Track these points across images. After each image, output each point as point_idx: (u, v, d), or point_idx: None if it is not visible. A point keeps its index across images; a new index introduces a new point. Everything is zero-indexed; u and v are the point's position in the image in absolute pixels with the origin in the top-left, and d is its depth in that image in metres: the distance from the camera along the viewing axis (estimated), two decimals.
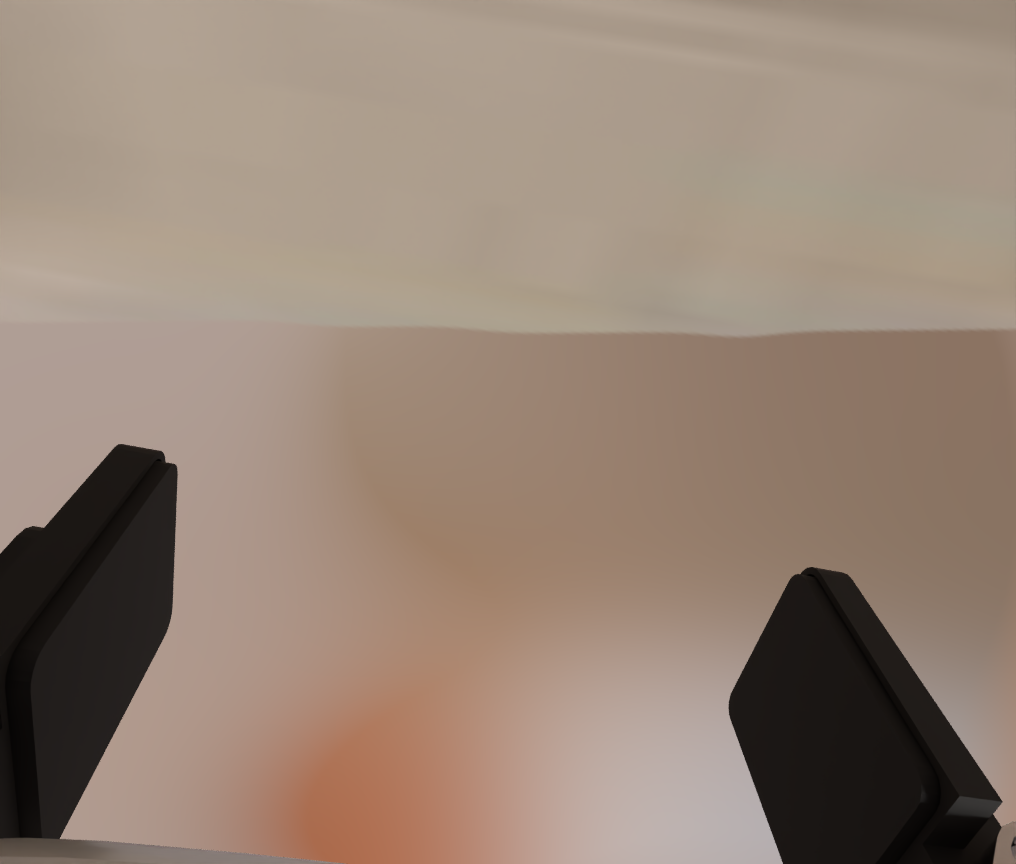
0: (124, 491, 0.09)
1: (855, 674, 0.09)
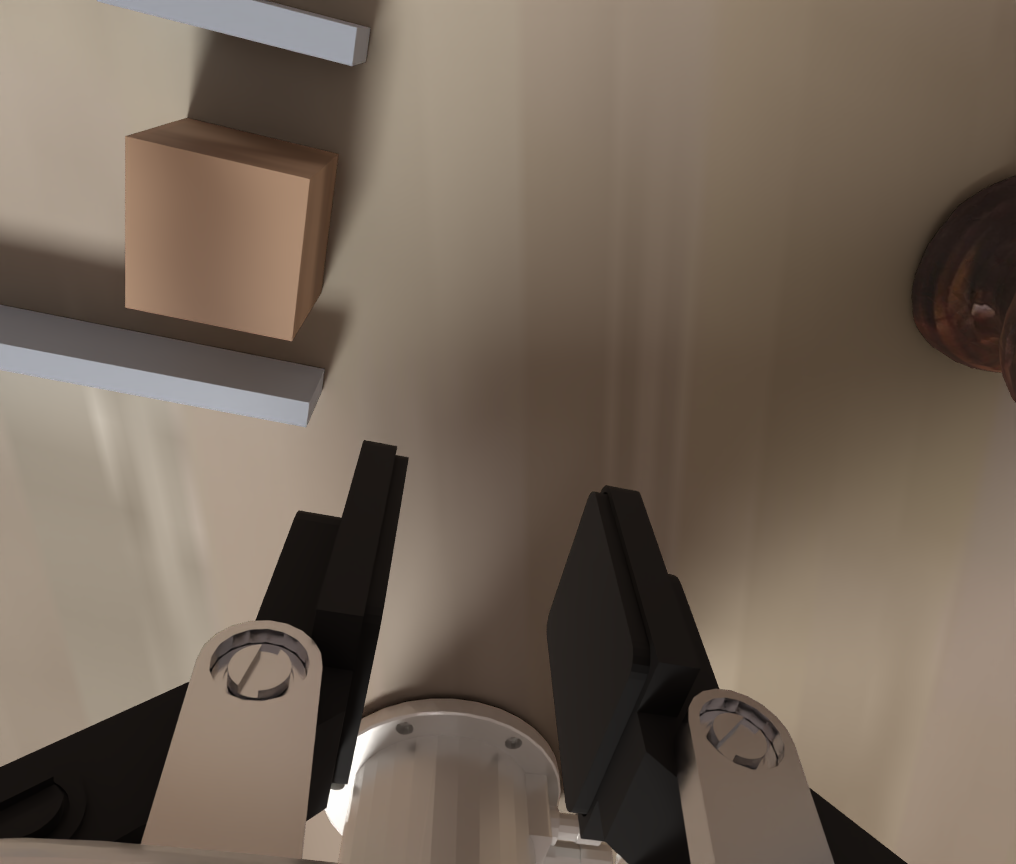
0: (386, 480, 0.10)
1: (611, 571, 0.10)
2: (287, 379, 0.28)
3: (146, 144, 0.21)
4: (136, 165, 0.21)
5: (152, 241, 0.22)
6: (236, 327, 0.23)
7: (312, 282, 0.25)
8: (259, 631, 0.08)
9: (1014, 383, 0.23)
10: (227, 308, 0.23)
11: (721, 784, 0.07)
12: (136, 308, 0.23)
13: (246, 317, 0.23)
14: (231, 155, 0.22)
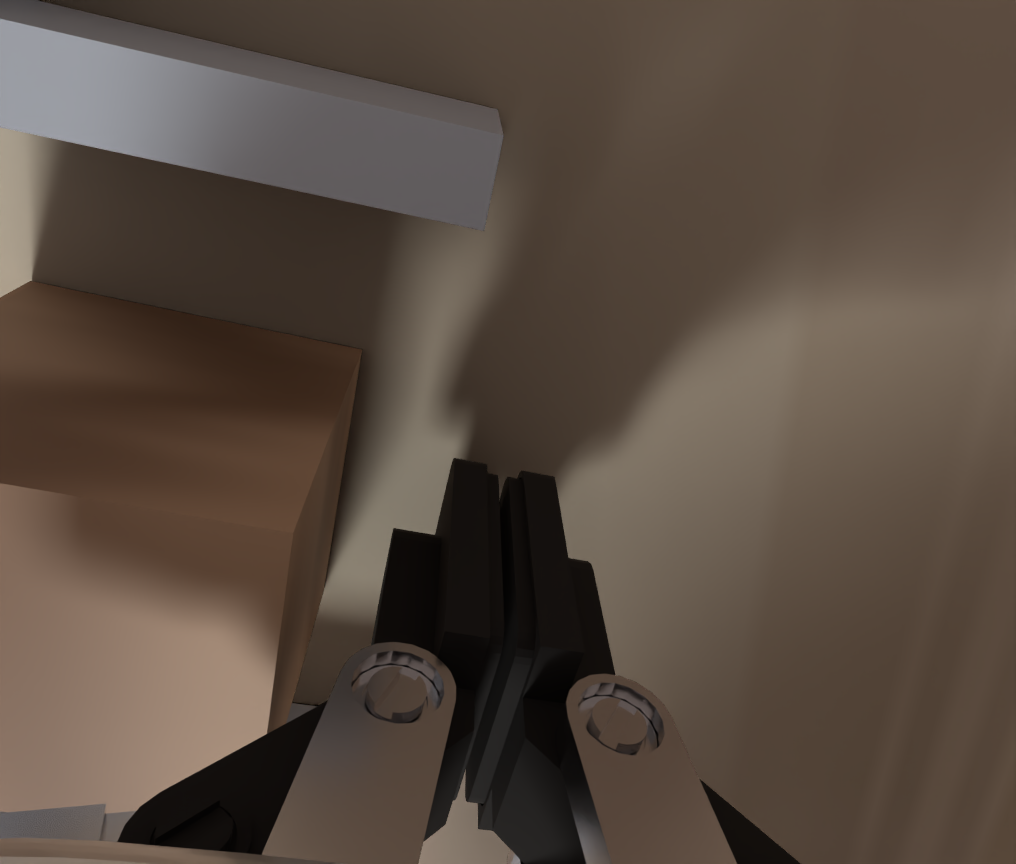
0: (483, 499, 0.11)
1: (512, 555, 0.10)
2: None
3: None
4: None
5: None
6: None
7: (304, 634, 0.12)
8: (389, 653, 0.08)
9: None
10: (90, 789, 0.09)
11: (609, 780, 0.07)
12: None
13: (140, 803, 0.09)
14: (79, 454, 0.08)
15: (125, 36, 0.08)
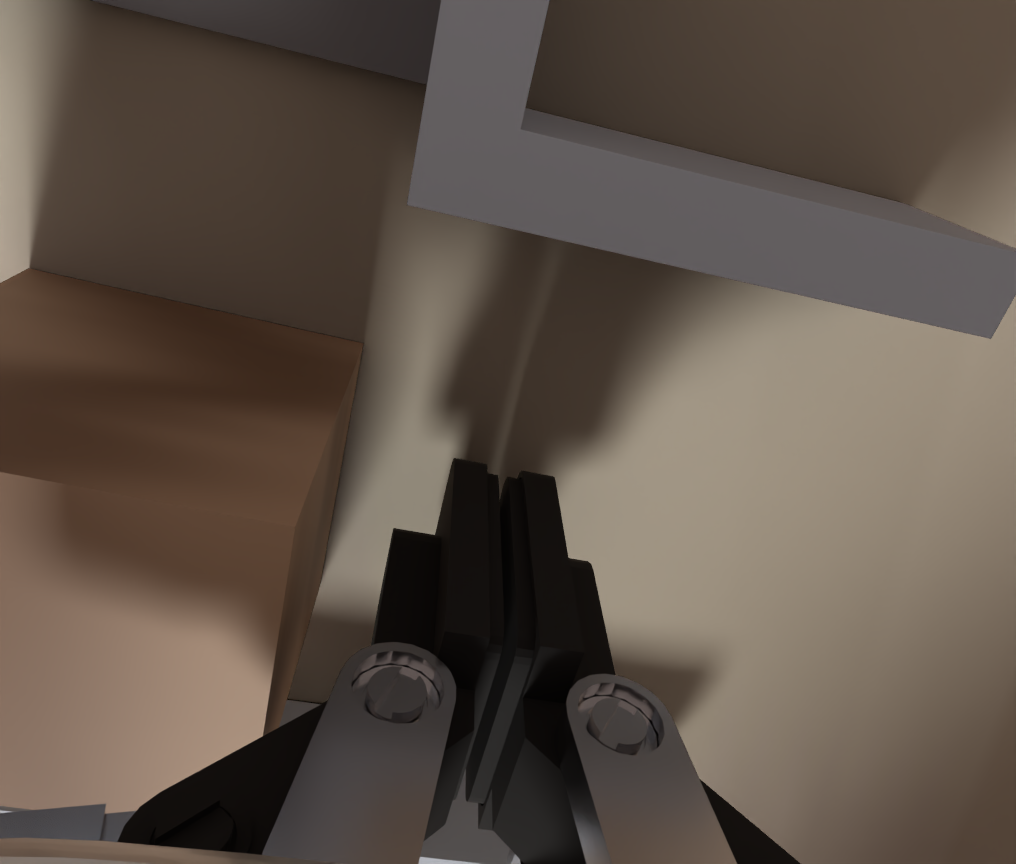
0: (483, 499, 0.11)
1: (512, 555, 0.10)
2: None
3: None
4: None
5: None
6: None
7: (300, 629, 0.12)
8: (390, 653, 0.08)
9: None
10: (83, 783, 0.09)
11: (609, 779, 0.07)
12: None
13: (133, 798, 0.09)
14: (79, 444, 0.08)
15: (665, 155, 0.09)
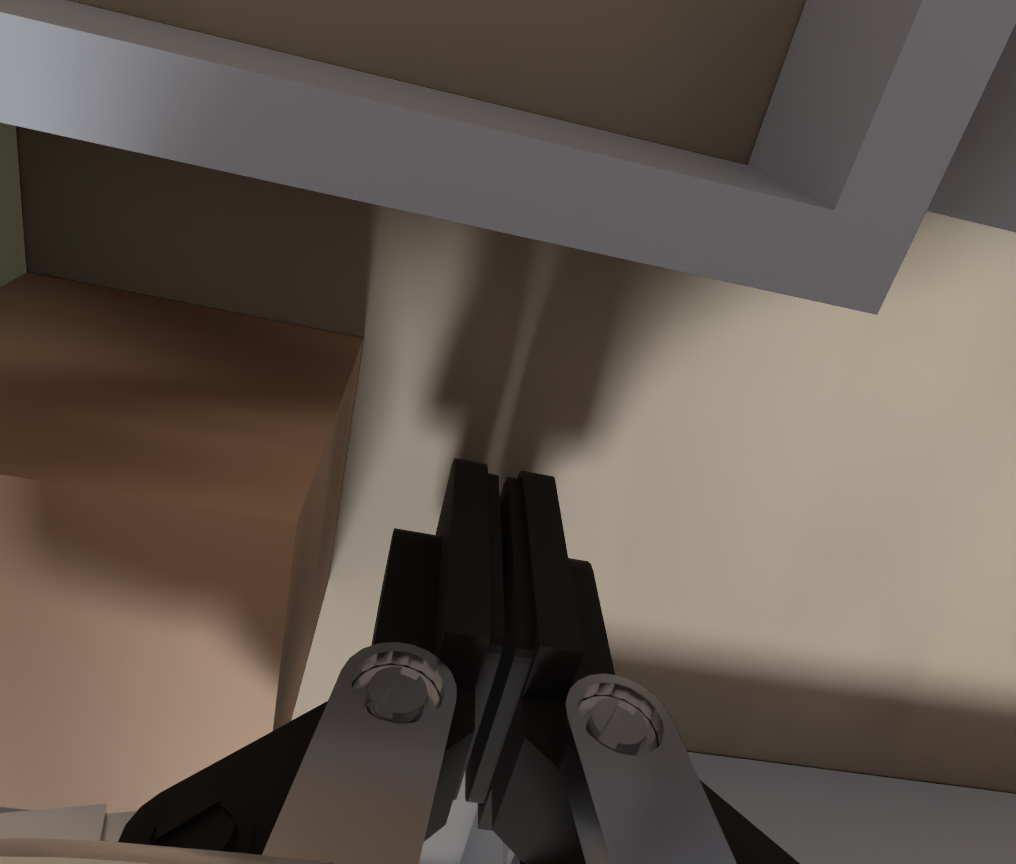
0: (484, 499, 0.11)
1: (512, 555, 0.10)
2: None
3: None
4: None
5: None
6: None
7: (309, 626, 0.12)
8: (390, 653, 0.08)
9: None
10: (95, 784, 0.09)
11: (608, 780, 0.07)
12: None
13: (146, 797, 0.09)
14: (79, 445, 0.08)
15: None
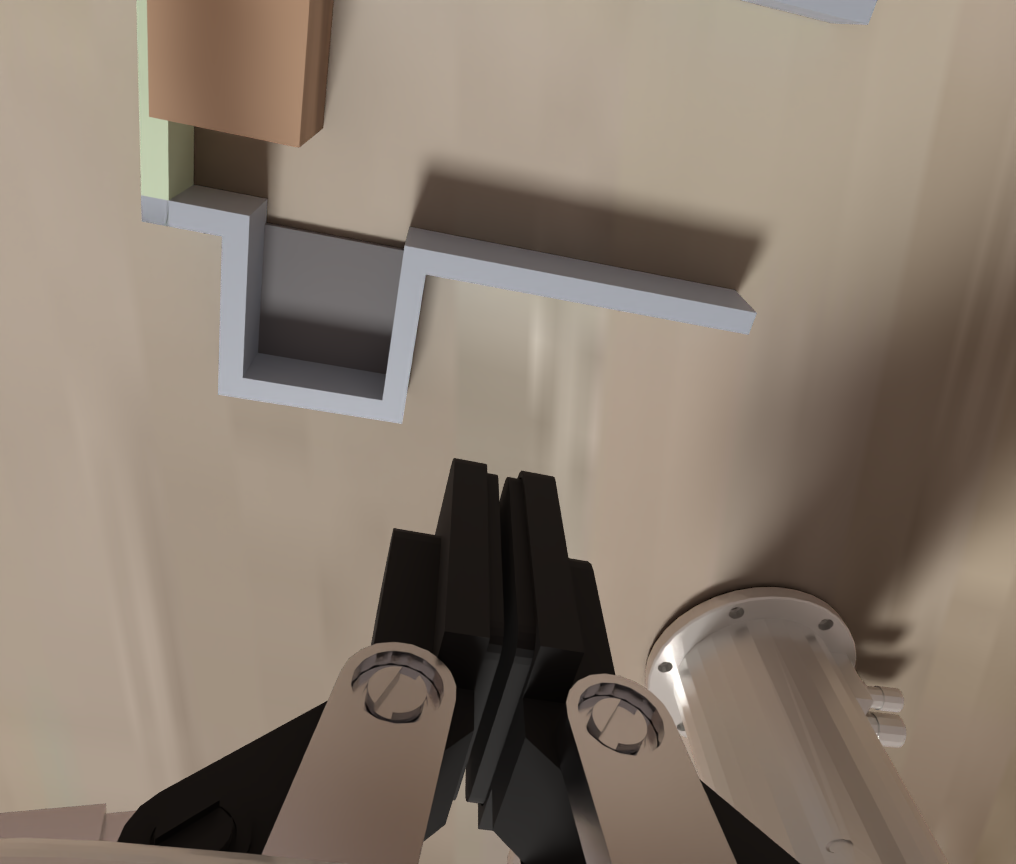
0: (483, 499, 0.11)
1: (512, 556, 0.10)
2: (722, 296, 0.33)
3: None
4: None
5: (172, 50, 0.25)
6: (249, 134, 0.26)
7: (315, 105, 0.28)
8: (389, 653, 0.08)
9: None
10: (240, 116, 0.26)
11: (609, 780, 0.07)
12: (159, 117, 0.26)
13: (257, 124, 0.26)
14: None
15: None
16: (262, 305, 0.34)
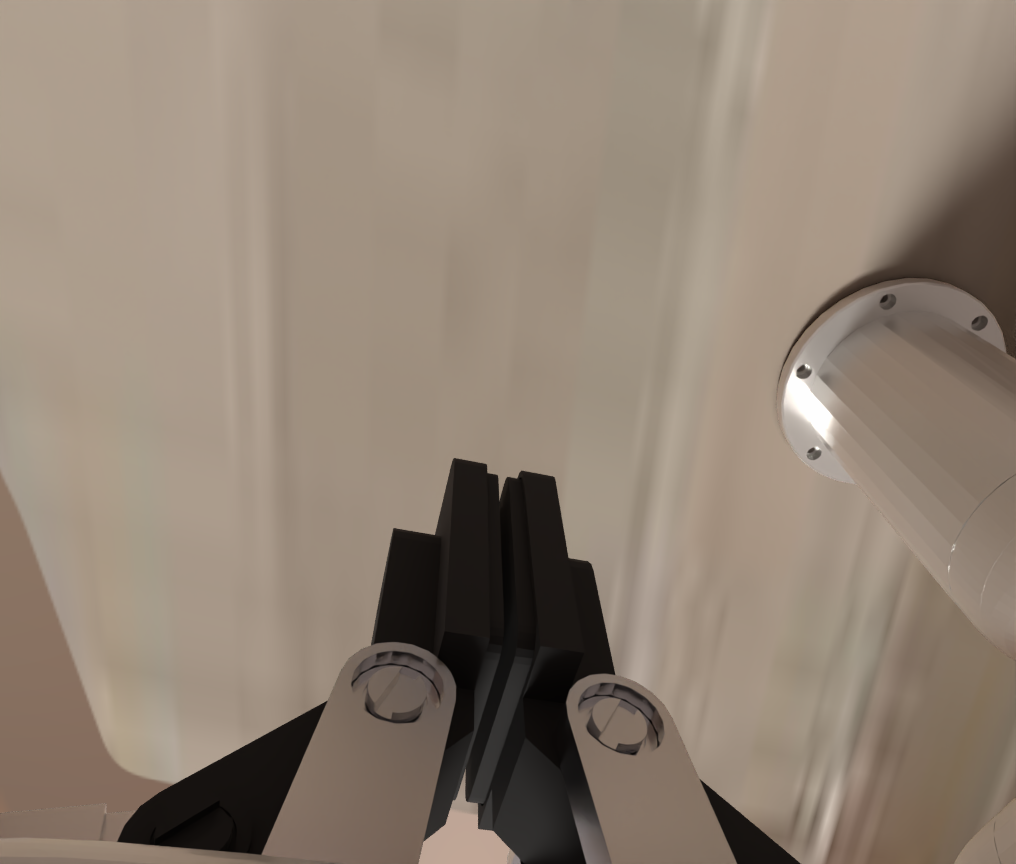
0: (483, 499, 0.11)
1: (512, 555, 0.10)
2: None
3: None
4: None
5: None
6: None
7: None
8: (389, 653, 0.08)
9: None
10: None
11: (608, 780, 0.07)
12: None
13: None
14: None
15: None
16: None
